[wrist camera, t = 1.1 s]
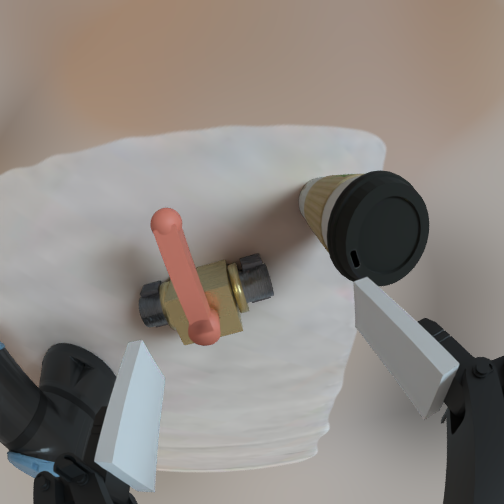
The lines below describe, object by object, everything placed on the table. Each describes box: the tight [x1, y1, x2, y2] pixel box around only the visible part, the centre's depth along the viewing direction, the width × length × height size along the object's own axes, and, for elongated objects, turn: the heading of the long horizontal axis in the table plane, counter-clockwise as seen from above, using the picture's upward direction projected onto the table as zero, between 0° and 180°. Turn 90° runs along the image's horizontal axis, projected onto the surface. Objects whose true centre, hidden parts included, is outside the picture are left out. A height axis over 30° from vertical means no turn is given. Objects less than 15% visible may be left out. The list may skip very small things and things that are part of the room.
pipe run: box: [139, 254, 274, 345], centre depth 32 cm, size 16×6×8 cm, turn 104°
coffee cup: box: [299, 171, 429, 286], centre depth 26 cm, size 10×10×15 cm
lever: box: [151, 208, 221, 346], centre depth 25 cm, size 14×3×3 cm, turn 14°
